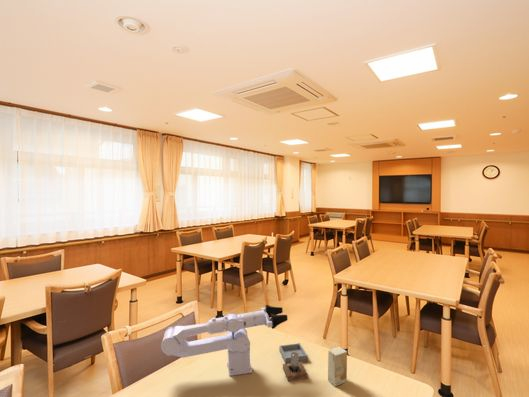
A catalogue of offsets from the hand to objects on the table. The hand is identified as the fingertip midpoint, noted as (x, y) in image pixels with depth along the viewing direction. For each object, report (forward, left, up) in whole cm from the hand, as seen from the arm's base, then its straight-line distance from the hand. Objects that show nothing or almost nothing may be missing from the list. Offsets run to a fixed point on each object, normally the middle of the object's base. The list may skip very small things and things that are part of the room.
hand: (284, 313), depth 123 cm
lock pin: (+2, -8, -22) cm, 23 cm away
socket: (+2, -8, -22) cm, 23 cm away
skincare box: (+17, -16, -22) cm, 32 cm away
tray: (+5, +4, -22) cm, 23 cm away
